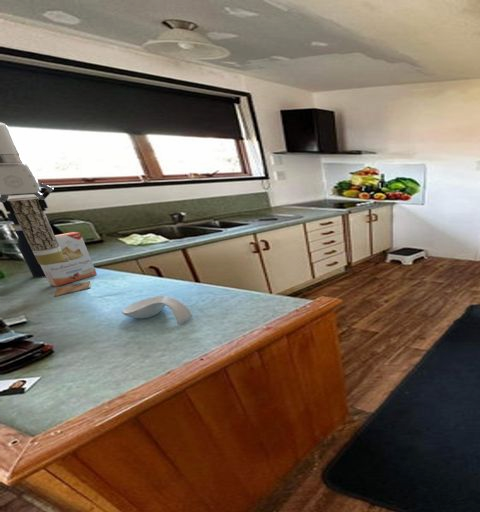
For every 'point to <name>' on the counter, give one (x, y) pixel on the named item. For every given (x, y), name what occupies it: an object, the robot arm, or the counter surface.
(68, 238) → the cracker box
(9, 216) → the wine bottle
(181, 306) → the spoon rest
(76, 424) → the counter surface
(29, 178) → the robot arm
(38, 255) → the bark print canister
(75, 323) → the counter surface
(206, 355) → the counter surface
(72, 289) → the coaster
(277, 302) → the counter surface
